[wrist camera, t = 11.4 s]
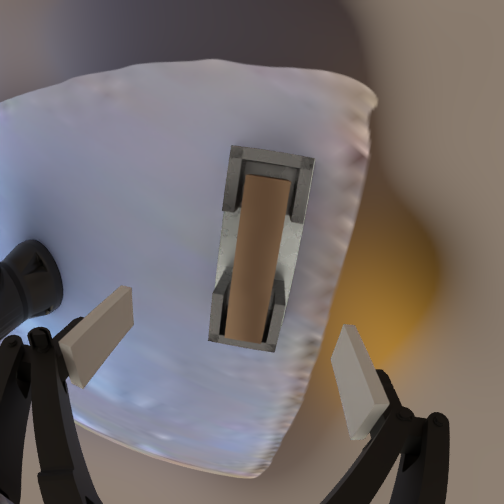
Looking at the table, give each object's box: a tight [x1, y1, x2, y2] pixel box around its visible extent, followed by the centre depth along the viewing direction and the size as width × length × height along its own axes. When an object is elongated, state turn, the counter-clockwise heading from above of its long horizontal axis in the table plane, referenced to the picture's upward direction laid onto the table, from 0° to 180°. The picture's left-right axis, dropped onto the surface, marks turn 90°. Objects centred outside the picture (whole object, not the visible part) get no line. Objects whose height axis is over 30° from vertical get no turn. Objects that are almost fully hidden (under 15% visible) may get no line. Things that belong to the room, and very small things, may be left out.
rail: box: [225, 174, 291, 344], centre depth 29 cm, size 4×17×6 cm, turn 172°
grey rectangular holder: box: [208, 145, 315, 352], centre depth 32 cm, size 10×23×8 cm, turn 171°
